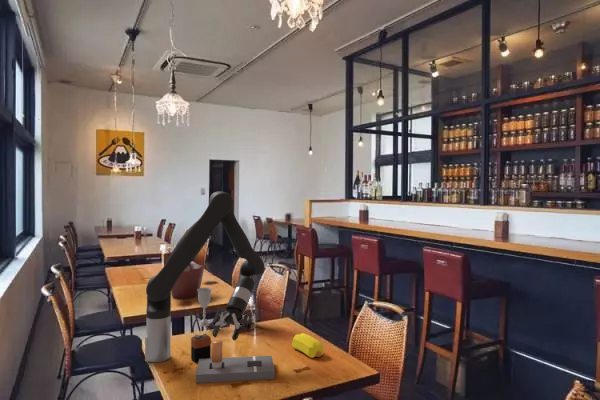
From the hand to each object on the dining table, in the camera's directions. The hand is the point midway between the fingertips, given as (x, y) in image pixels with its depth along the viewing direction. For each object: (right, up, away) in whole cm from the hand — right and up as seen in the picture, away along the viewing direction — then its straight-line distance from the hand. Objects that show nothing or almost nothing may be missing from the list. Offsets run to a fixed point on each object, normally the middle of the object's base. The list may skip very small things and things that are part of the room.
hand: (223, 337), depth 162 cm
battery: (-11, -12, +9) cm, 18 cm away
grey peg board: (+5, -12, -3) cm, 13 cm away
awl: (-2, -12, -4) cm, 13 cm away
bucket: (-44, -8, +107) cm, 116 cm away
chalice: (-19, -10, +51) cm, 55 cm away
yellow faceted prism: (+32, -12, +18) cm, 39 cm away
